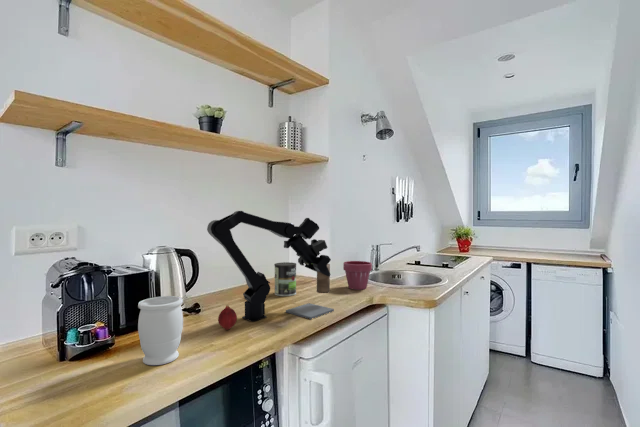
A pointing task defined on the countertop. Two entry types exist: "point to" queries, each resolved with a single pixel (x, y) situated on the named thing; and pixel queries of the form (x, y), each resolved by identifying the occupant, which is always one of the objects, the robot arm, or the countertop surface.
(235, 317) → the onion
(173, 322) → the jar
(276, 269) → the coffee can
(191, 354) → the countertop surface
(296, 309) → the slate board
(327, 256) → the robot arm
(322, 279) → the pepper mill
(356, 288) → the plant pot
